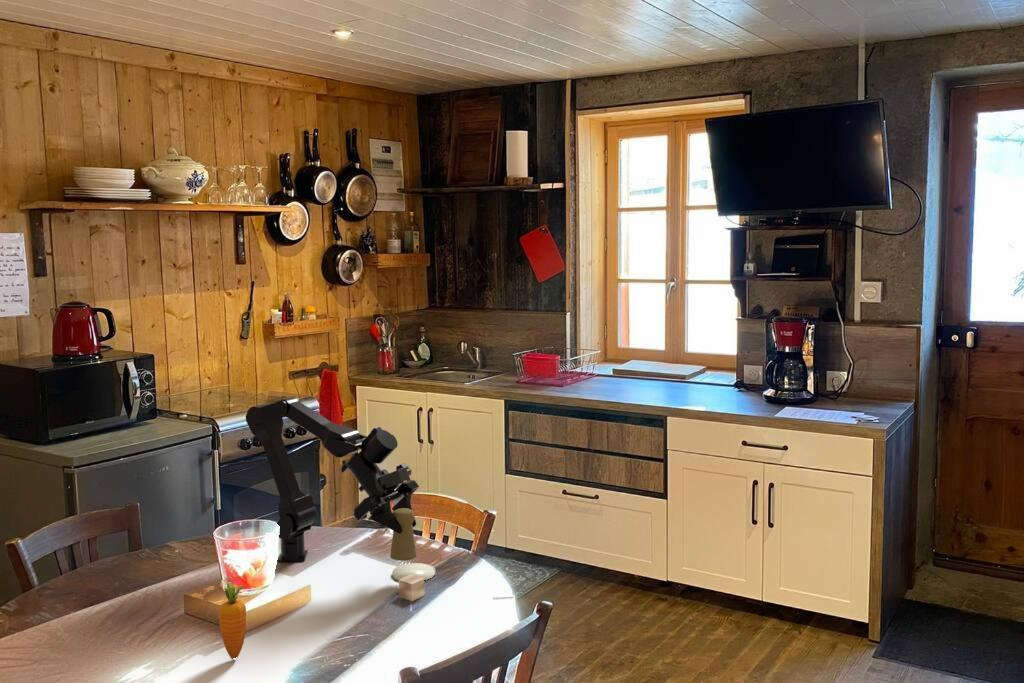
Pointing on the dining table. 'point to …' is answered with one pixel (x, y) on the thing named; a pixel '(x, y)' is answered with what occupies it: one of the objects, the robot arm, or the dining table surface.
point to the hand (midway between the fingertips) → (408, 529)
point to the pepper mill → (403, 536)
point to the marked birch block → (411, 587)
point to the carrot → (232, 621)
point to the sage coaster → (414, 571)
